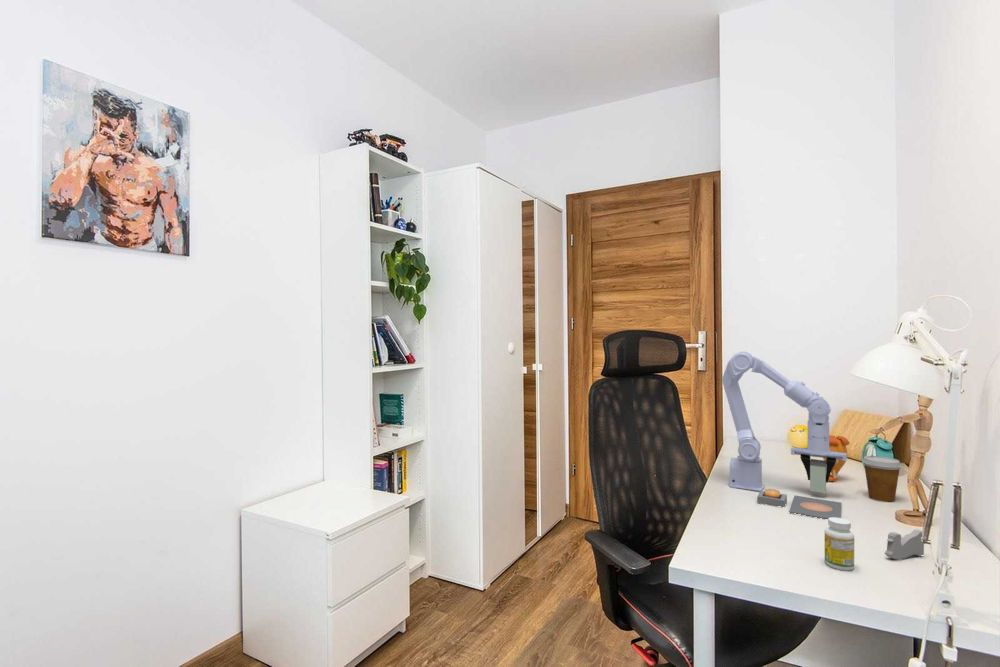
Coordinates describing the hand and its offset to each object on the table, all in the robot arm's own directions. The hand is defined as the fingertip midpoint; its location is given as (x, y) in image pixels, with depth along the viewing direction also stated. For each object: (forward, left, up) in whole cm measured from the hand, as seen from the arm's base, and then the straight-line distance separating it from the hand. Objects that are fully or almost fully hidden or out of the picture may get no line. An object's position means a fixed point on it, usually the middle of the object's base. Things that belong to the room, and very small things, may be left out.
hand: (818, 480), depth 157 cm
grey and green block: (0, 0, -3) cm, 3 cm away
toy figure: (+4, +24, -5) cm, 25 cm away
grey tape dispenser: (+18, -41, -5) cm, 45 cm away
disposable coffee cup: (+16, +8, -5) cm, 19 cm away
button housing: (-11, -15, -5) cm, 19 cm away
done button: (-11, -15, -3) cm, 19 cm away
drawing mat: (0, -14, -5) cm, 15 cm away
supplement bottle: (+6, -54, -5) cm, 55 cm away
